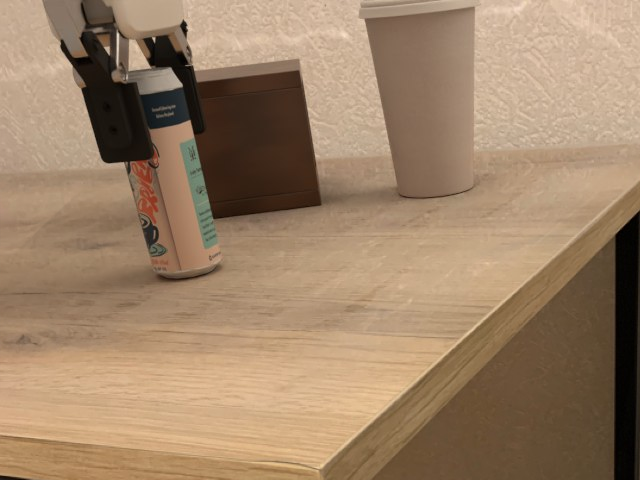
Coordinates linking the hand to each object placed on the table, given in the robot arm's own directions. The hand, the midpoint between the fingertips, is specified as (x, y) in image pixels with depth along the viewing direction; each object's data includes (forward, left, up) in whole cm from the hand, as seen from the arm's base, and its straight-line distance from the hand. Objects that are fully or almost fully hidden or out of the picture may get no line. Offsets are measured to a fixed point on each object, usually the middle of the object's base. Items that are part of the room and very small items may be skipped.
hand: (158, 146), depth 58 cm
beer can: (0, 0, -8) cm, 8 cm away
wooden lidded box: (-13, +20, -8) cm, 25 cm away
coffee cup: (+2, +26, -8) cm, 27 cm away
